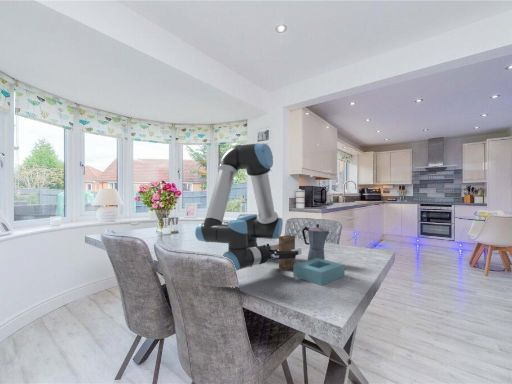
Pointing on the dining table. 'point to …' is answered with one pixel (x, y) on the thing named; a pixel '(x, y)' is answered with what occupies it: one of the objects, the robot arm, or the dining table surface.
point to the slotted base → (318, 271)
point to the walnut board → (286, 245)
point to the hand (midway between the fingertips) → (289, 248)
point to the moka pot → (316, 241)
